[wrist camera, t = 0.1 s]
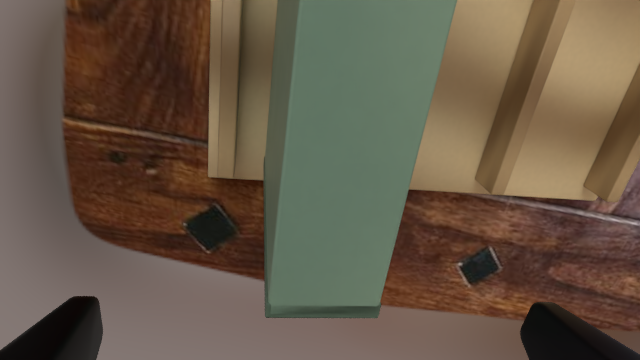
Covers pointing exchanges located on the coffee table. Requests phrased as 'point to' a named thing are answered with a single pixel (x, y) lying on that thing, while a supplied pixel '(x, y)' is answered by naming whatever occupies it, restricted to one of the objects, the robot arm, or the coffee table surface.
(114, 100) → the coffee table surface
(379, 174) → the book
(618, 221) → the coffee table surface
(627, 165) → the rack
